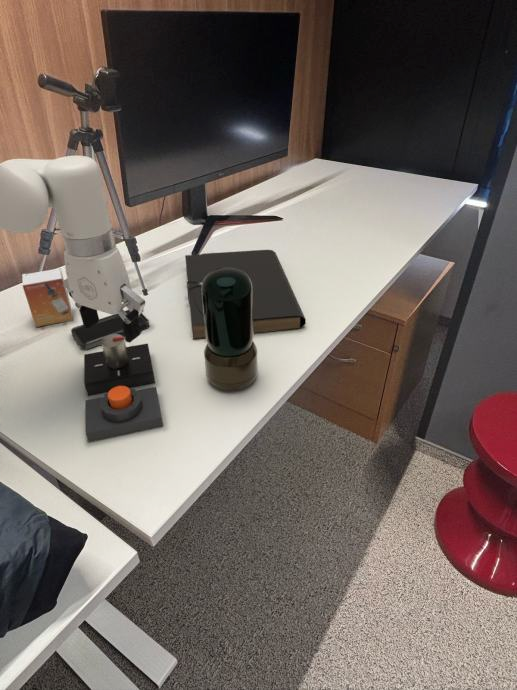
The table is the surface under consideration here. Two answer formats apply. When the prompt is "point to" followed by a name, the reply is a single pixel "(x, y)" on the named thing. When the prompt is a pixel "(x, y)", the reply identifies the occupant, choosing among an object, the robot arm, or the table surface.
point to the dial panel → (118, 371)
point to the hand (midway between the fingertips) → (112, 331)
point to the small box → (47, 297)
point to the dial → (115, 351)
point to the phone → (103, 330)
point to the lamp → (229, 329)
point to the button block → (122, 415)
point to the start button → (119, 397)
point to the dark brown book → (268, 289)
